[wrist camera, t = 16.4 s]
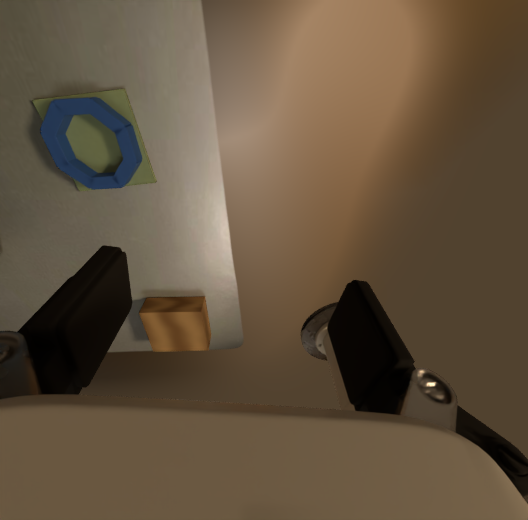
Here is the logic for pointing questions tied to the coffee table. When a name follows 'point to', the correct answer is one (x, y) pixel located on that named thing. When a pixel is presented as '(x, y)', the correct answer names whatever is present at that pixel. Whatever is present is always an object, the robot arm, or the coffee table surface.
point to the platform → (176, 323)
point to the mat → (101, 137)
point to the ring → (62, 150)
